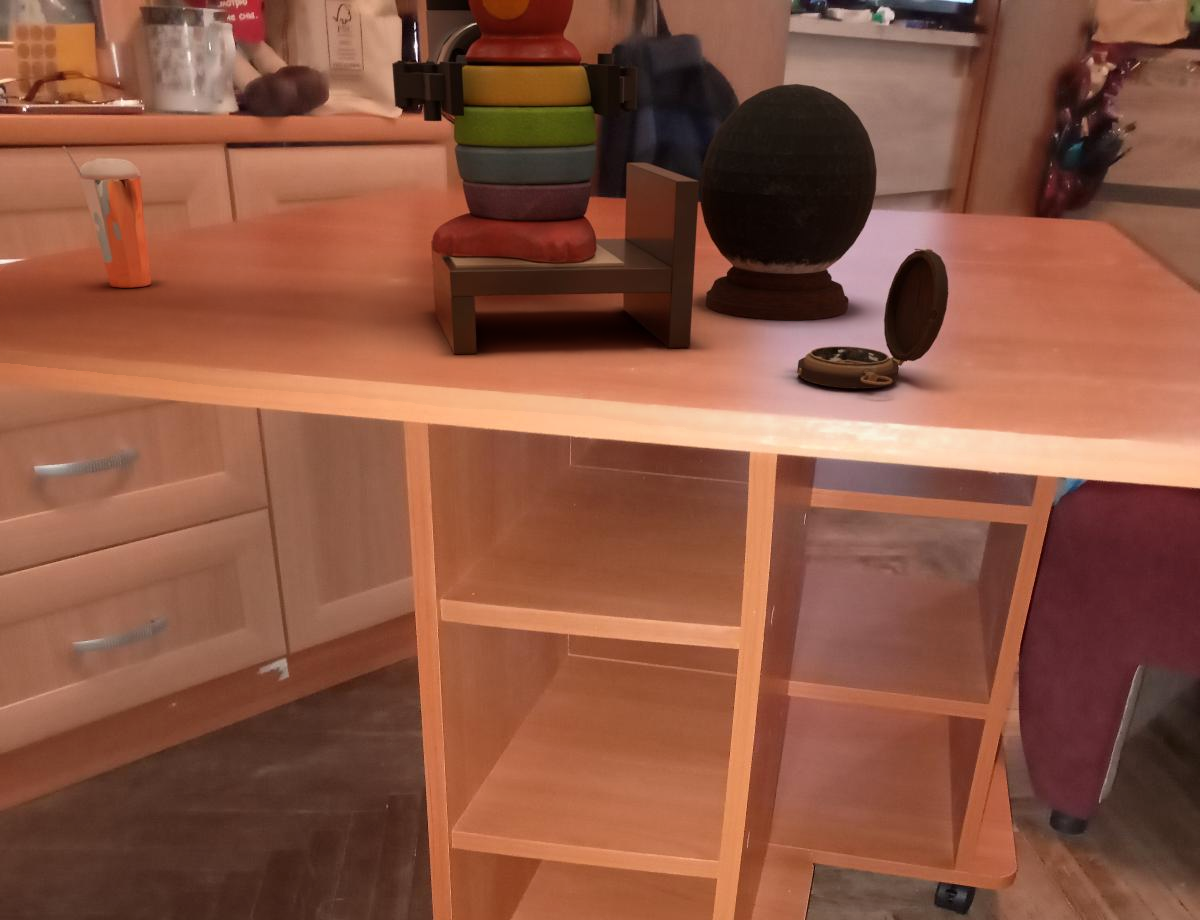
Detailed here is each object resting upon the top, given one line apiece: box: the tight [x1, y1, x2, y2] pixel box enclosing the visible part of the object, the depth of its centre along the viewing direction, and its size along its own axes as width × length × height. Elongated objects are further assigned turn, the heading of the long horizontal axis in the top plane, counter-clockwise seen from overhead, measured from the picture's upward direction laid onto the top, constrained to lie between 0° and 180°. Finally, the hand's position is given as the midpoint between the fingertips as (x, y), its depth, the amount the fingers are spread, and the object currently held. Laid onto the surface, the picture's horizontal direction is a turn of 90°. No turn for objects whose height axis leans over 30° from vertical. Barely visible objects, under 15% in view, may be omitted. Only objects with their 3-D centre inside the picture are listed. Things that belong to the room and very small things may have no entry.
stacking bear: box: [431, 0, 598, 263], centre depth 74 cm, size 11×10×18 cm
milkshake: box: [62, 145, 152, 289], centre depth 92 cm, size 4×5×10 cm
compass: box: [796, 248, 949, 389], centre depth 68 cm, size 8×8×7 cm
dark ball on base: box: [699, 83, 878, 321], centre depth 87 cm, size 13×13×15 cm
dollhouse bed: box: [430, 162, 700, 355], centre depth 79 cm, size 16×14×10 cm
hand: (536, 90), depth 70 cm, fingers closed on stacking bear, 9 cm apart
